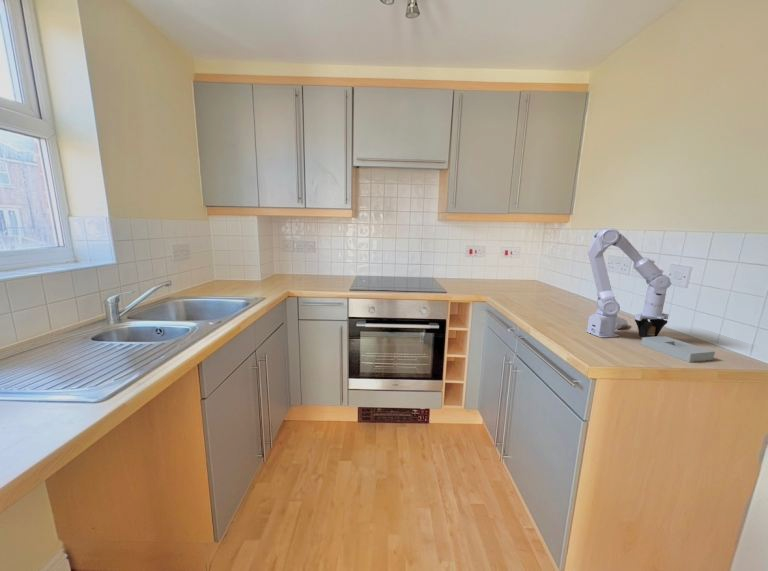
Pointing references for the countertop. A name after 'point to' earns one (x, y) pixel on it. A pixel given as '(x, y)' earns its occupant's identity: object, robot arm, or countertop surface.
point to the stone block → (620, 323)
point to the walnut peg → (651, 331)
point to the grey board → (678, 348)
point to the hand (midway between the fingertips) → (647, 336)
